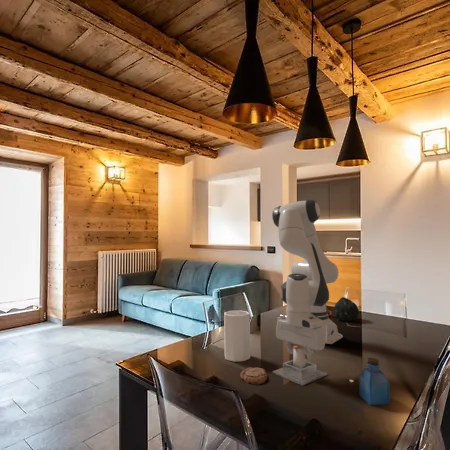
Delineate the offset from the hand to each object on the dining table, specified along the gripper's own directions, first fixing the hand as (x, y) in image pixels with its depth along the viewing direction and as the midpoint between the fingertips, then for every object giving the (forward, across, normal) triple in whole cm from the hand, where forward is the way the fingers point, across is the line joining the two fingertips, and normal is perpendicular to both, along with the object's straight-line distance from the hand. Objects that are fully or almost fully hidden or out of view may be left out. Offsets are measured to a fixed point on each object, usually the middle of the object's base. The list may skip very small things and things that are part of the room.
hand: (299, 356), depth 120 cm
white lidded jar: (+6, 0, 0) cm, 6 cm away
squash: (+7, -34, +88) cm, 95 cm away
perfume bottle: (+6, +27, +2) cm, 28 cm away
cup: (+6, -28, -6) cm, 29 cm away
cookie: (+7, -8, -15) cm, 18 cm away
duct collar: (+6, 0, 0) cm, 6 cm away
